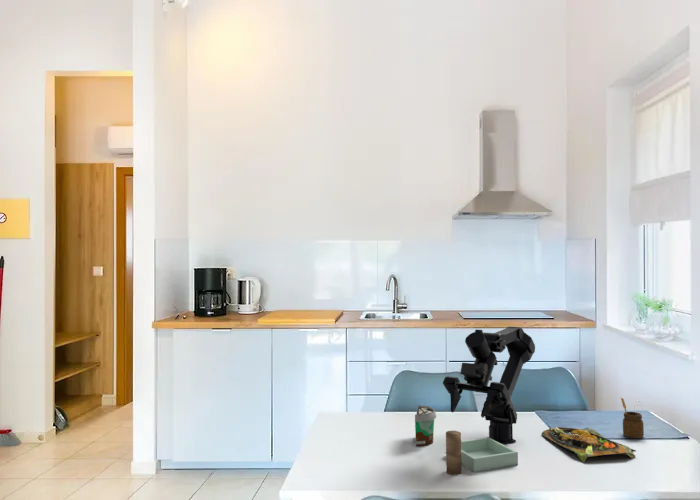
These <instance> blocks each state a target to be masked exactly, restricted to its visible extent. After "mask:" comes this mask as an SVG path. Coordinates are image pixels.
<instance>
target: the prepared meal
mask: <svg viewBox="0 0 700 500" xmlns="http://www.w3.org/2000/svg"><path fill="white" fill-rule="evenodd" d="M569 432H570V433H571V434H570V433H569ZM565 433H567V434H565ZM573 434H578V435H573ZM581 435H582V436H581ZM540 436H542V437H544V438H547V439H548V440H550V441H551V442H553V443H554V444H556V445H558V446H560V447H561V448H564V449H566V450H569V451H571V452H574V454H576V456H577V457H578V458H579V459H580V460H581V462H582V463H585V461H586V460H587V458H589V457H591V458H592V457H598V456H604V455H605V456H606V455H607V456H608V455H609V456H610V455H618V454H627V456H628V457H630V458H631V459H636V455H635V453H634V452H637V450H635V449H633V448H631V447H629V446H628V445H626V444H621V443H618V442H617V441H614V440H611V439H609V438H606V437H604V436H603V435H602V434H600V433H599V432H598V431H596V430H595V429H592V428H589V427H585V428H582V429H579V428H573V427H559V426H557V427H552V428H549V429H546V430H543V431H542V433H541V435H540Z"/></svg>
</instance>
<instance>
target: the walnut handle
mask: <svg viewBox="0 0 700 500" xmlns="http://www.w3.org/2000/svg"><path fill="white" fill-rule="evenodd" d="M461 441H462V433H461V432H460V431H458V430H446V431H445V453H446V454H445V458H446V459H445V461H446V474H447V475H449V476H460V475H462V472H463V470H462V469H463V468H462V466H463V465H462V460H461Z"/></svg>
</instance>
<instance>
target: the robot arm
mask: <svg viewBox="0 0 700 500" xmlns="http://www.w3.org/2000/svg"><path fill="white" fill-rule="evenodd" d="M464 343H465V344H466V346H467V348H468V350H469V352H470V354H471V356H472V357H473V358H474V363H470V362H469V363H468V362H461V365H460V366H461V368H460V373H459V374H460V375H463V379H464V381H466V382H462V381H460V379H459V377H456V376H449V375H447V376H445V377H444V378H443V380H442V384H443V387H444V388H445V390H446V391H447V393H448V394H449V397H450V412H451V413H454V412H455V411H456V409H457V407H458V404H459V402H460V400H461V398H462V394H463V391H469V392H473V393H474V392H475V393H481V394H486V397H485V401H484V403H483V407H482V409H481V414H480V417H481V418H484V419H485V421H489V426H488V437H489V438H491V439H493V440H495V441H497V442H499V443H501V444H503V445H505V444H511V443H517V440H516V439H514V438H513V437H514V434H513V424H517V421H518V412H517V411H516V409H515V408H514V403H513V400H512V396H513V393H514V391H515V387H516V385H517V382H518V380H519V376H520V374H521V371H522V368H523V367H524V364H526V363H528V362H529V361H530V360H531V359H532V357H533V356H534V354H535V352H536V344H535V342H534V340H533V338H532V337H531V335H528V334H527V333H526V332H525V331H524V329H523V328H522V327H521V326H519V327H518V326H506V327H505V328H503V329H501V330H499V331H496V332H484V331H483V330H482V329H475V330H474V332H471V333H470V334H468V335H466V337H465V340H464ZM506 348H507V352H508V355H509V358H508V359H507V362H506V365H505V368H504V370H503V373H502V376H501V378H500V380H499V382H498V381H497V382H496V381H495V382H494V381H492V380H493V377H492V373H493V370H494V368H495V366H497V365H498V360H497V355H496V354H495V353H497V354H498V353H502V352H504V351H505V349H506ZM490 381H492V382H490ZM489 382H490V384H489Z"/></svg>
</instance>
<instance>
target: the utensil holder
mask: <svg viewBox="0 0 700 500" xmlns="http://www.w3.org/2000/svg"><path fill="white" fill-rule="evenodd" d="M620 400H621V404H622V407H623V409H624V411H625V412H623V417H624V418H623V419H622V434H623V436H625V437H626V438H631V439H642V438H644V435H645V434H644V433H645V432H644V430H645V429H644V427H645V426H644V421H643V415H642V414H641V412H640V411H642V410H643V408H641V407H643V406H644V405H643V404H642V402H641V401H639V400H637V401H635V402H634V407H633V411H627V406H626V402H625V400H624V398H623V397H620ZM638 404H639V408H638V409H640V408H641V409H640V410H638V411H637V410H636V408H637V407H638ZM635 406H636V408H635Z"/></svg>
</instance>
